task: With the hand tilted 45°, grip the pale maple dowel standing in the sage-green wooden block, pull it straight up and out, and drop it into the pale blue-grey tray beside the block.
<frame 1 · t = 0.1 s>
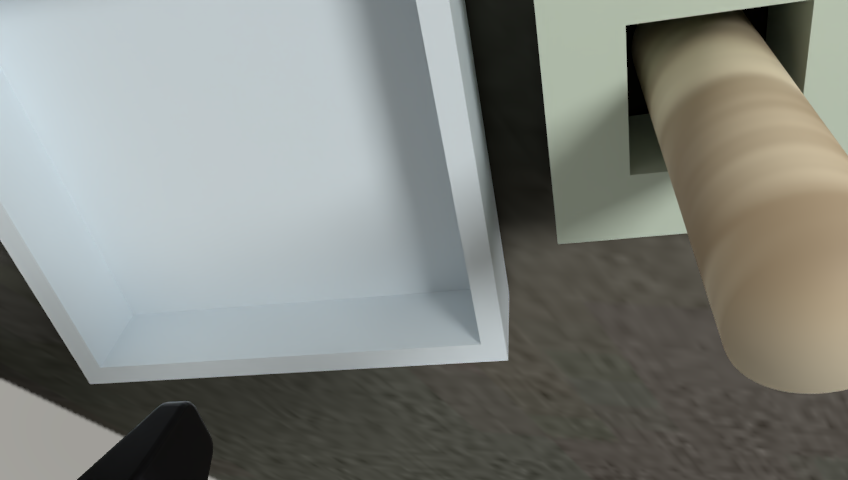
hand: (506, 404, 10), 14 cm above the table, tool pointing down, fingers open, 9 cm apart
tray: (246, 130, 25), on the table
dowel: (738, 142, 17), in the dowel block
dowel block: (688, 43, 21), on the table
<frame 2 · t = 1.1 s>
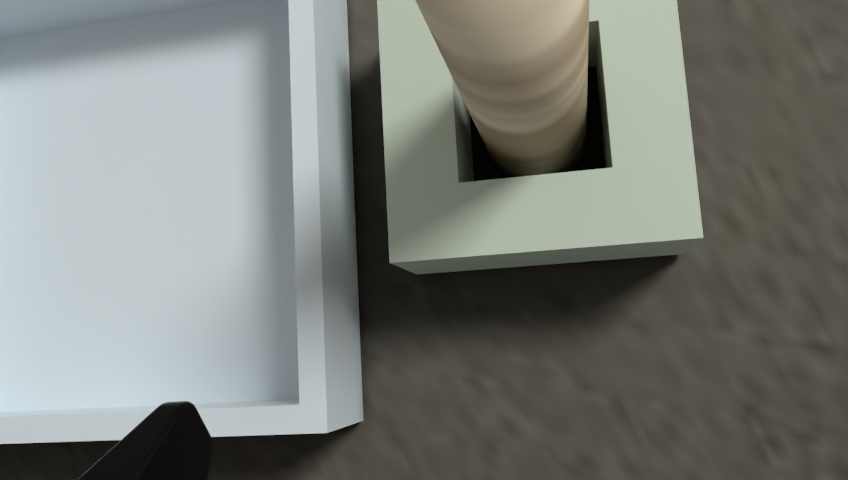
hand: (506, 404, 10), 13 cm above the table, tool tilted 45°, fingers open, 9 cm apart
tray: (146, 206, 27), on the table
dowel: (521, 69, 18), in the dowel block
dowel block: (535, 136, 24), on the table
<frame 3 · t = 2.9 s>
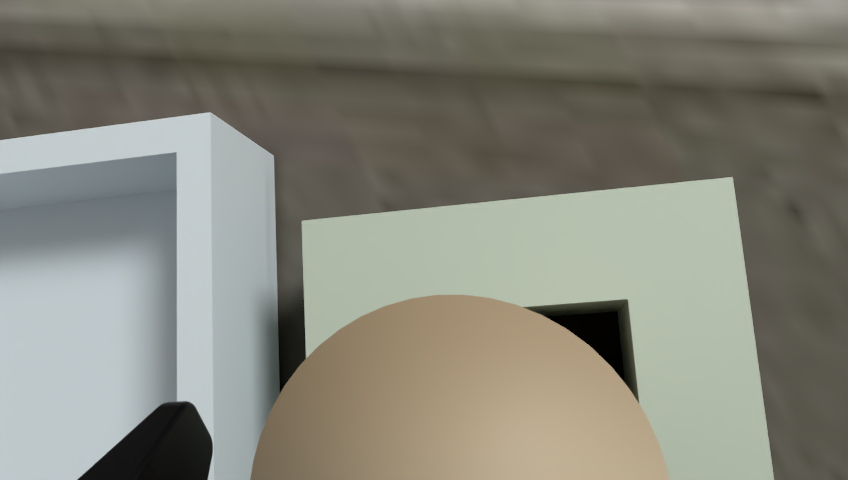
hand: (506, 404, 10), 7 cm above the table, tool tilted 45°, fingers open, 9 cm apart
tray: (2, 474, 19), on the table
dowel: (513, 433, 11), in the dowel block
dowel block: (533, 409, 17), on the table
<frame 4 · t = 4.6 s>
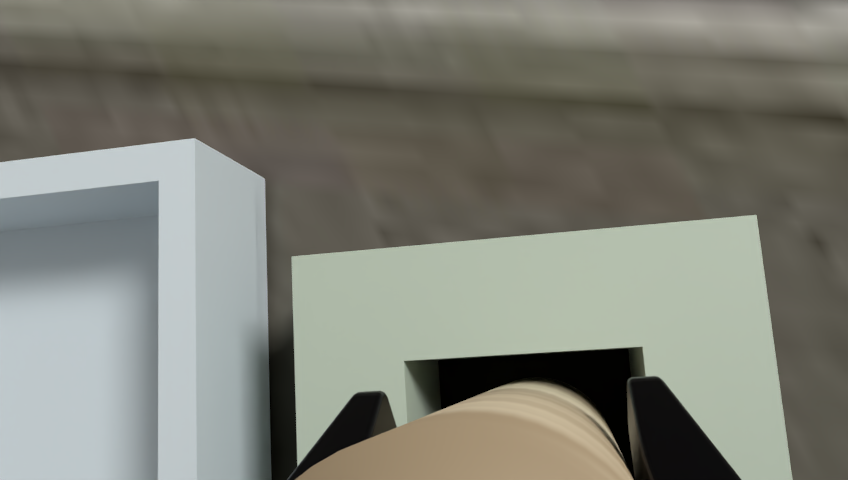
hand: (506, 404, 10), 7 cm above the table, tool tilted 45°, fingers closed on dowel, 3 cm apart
dowel block: (538, 452, 16), on the table
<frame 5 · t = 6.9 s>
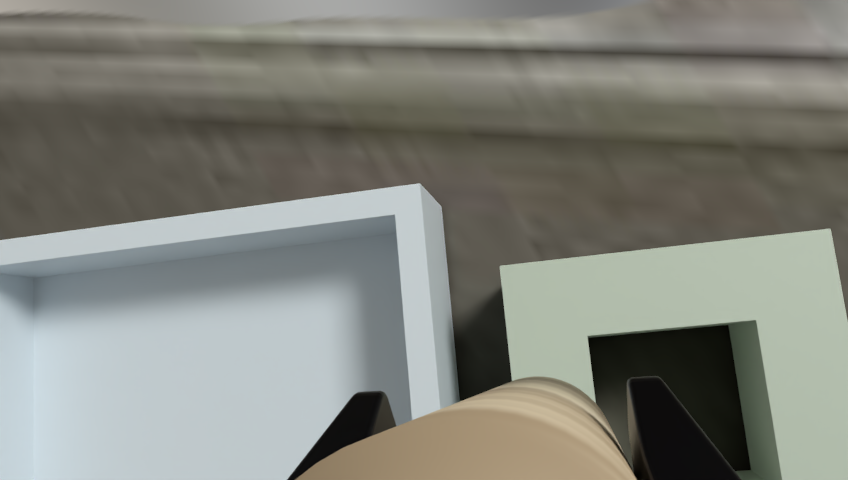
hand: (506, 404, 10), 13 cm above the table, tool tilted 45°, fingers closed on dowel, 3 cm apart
tray: (232, 465, 24), on the table
dowel block: (665, 401, 22), on the table
when the fingers open (9 cm above the table, at t = 9.4 s): dowel drops 1 cm, resting on tray.
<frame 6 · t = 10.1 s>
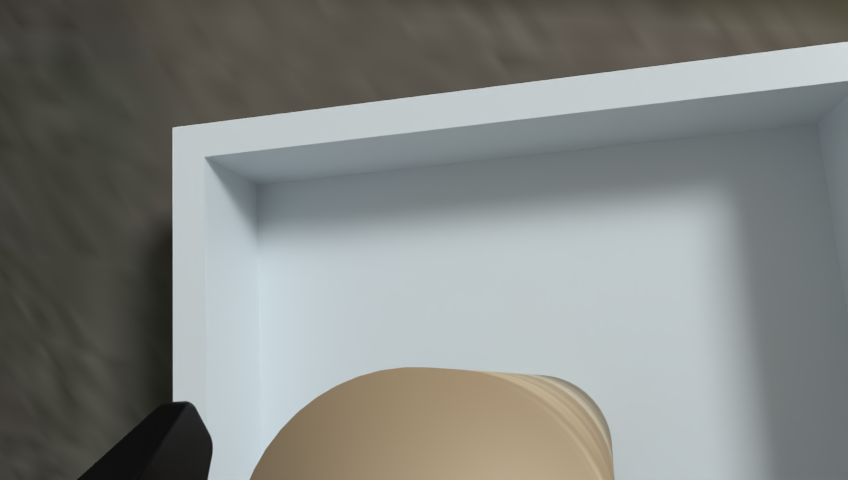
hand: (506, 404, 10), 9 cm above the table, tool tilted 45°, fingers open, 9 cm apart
tray: (542, 440, 18), on the table
dowel: (509, 476, 12), in the tray, point 7 cm above the table
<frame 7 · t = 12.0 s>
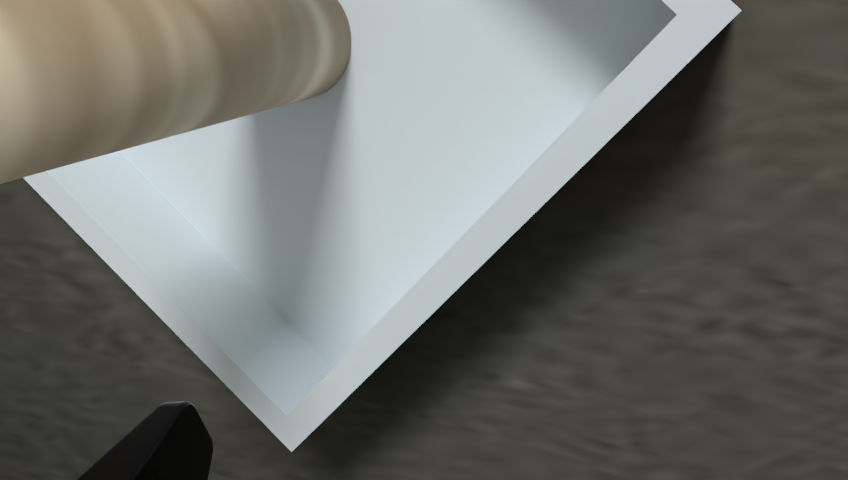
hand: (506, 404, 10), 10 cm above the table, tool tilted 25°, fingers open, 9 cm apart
tray: (307, 38, 21), on the table
dowel: (151, 56, 15), in the tray, point 7 cm above the table
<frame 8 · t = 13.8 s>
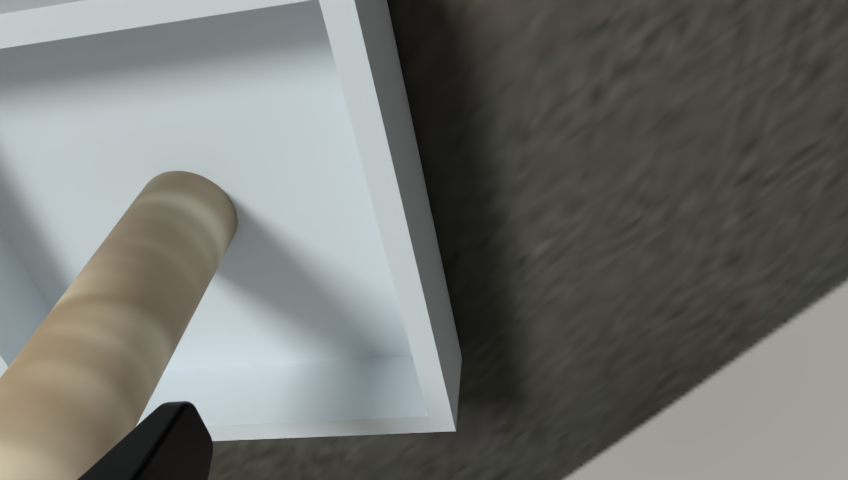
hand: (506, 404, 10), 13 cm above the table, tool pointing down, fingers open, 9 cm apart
tray: (195, 203, 25), on the table
dowel: (109, 340, 19), in the tray, point 7 cm above the table
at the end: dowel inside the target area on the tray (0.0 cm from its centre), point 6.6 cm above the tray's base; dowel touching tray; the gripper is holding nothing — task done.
